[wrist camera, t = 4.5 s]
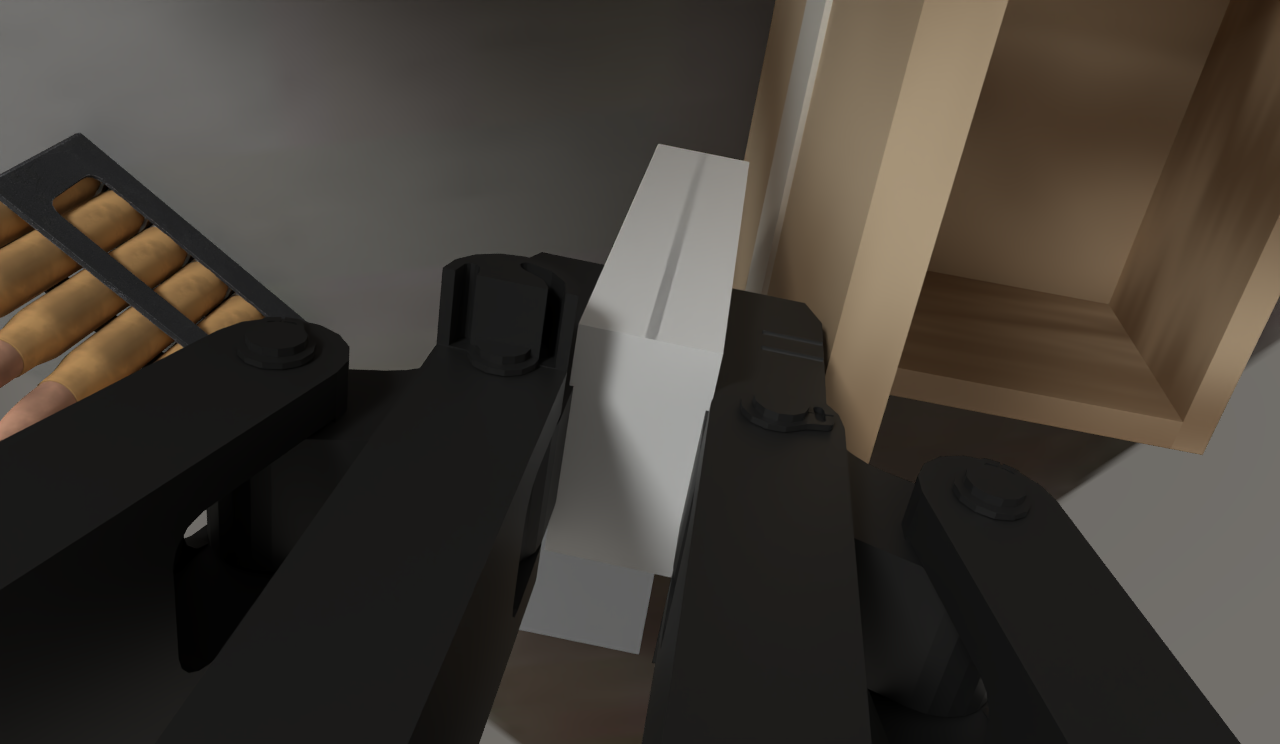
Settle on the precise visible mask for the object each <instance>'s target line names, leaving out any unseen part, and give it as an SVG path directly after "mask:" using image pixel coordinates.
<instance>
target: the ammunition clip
mask: <svg viewBox="0 0 1280 744" xmlns="http://www.w3.org/2000/svg"><path fill="white" fill-rule="evenodd" d="M115 247H116V249H114V248H115ZM112 249H114V250H113V251H111V252H110V253H107V252H109V251H110V250H112ZM81 268H84V269H83V270H82V271H80V272H79V273H77V274H76V275H74V276H73V277H71V278H68V276H70V275H72V274H73V273H75V272H77V271H78V270H80V269H81ZM158 284H160V285H159V286H158V287H156V288H155V289H154V290H152V289H153V288H154V287H155V286H157V285H158ZM43 292H45V293H46V294H45V295H43V296H42V297H40V298H39V299H37V300H36V301H34V302H32V303H31V304H29V305H28V306H26V307H25V308H23V309H22V310H21V311H19V312H18V313H17V314H16V315H15V316H13V318H12V319H11V320H10V321H9V322H8V323H7V324H6V325H5V326H4V327H3V329H1V330H0V388H1V387H3V386H4V385H5V384H7V383H8V382H10V381H11V380H13V379H14V378H17V377H19V376H21V375H22V374H24V373H26V372H27V371H29V370H30V369H32V368H33V367H35V366H37V365H39V364H42V363H45V362H47V361H50V360H52V359H54V358H56V357H58V356H60V355H61V354H62V353H64V352H65V351H67V350H68V349H69V348H71V347H72V346H74V345H75V344H76V343H78V342H79V341H80V340H82V339H83V338H85V337H86V336H87V335H89V334H90V333H92V332H93V331H95V332H96V333H95V334H94V335H92V336H91V337H90V338H88V339H87V340H86V341H84V342H83V343H82V344H80V345H79V346H78V347H76V348H75V349H74V350H72V351H71V352H70V353H69V354H68V355H67V356H65V358H64V359H63V360H62V361H61V362H60V364H59V365H58V366H57V368H56V369H55V370H54V372H52V373H51V374H50V375H49V376H48V377H46V378H45V379H44V380H43V381H42V382H41V383H39V384H38V386H37V387H36V388H35V389H34V390H32V391H31V392H30V393H28V394H27V395H26V396H25V397H24V398H22V399H21V400H20V401H19V402H18V403H17V404H16V405H15V406H14V407H13V408H12V409H11V410H10V411H9V412H8V413H7V414H6V415H5V416H4V417H3V418H2V420H1V421H0V441H1V440H3V439H5V438H7V437H9V436H11V435H13V434H15V433H17V432H19V431H21V430H23V429H25V428H27V427H29V426H31V425H33V424H35V423H37V422H39V421H41V420H43V419H44V418H46V417H48V416H50V415H52V414H54V413H56V412H58V411H60V410H62V409H64V408H66V407H68V406H70V405H72V404H74V403H76V402H78V401H80V400H82V399H84V398H86V397H88V396H90V395H92V394H94V393H95V392H97V391H99V390H101V389H103V388H105V387H107V386H109V385H111V384H113V383H115V382H117V381H119V380H121V379H123V378H125V377H127V376H129V375H131V374H133V373H135V372H137V371H139V370H140V369H141V368H142V369H143V368H145V367H146V366H148V365H150V364H152V363H154V362H156V361H158V360H160V359H162V358H164V357H166V356H168V355H170V354H172V353H174V352H176V351H178V350H180V349H182V348H184V347H186V346H188V345H190V344H192V343H194V342H196V341H198V340H199V339H201V338H203V337H205V336H207V335H209V334H211V333H213V332H215V331H217V330H219V329H222V328H225V327H228V326H231V325H234V324H236V323H239V322H243V321H251V320H259V319H263V318H265V317H282V319H285V317H288V318H296V319H300V320H302V321H304V322H306V321H305V320H304V319H303V318H302V317H300V316H299V315H298V314H297V313H296V312H294V311H293V310H292V309H291V308H290V307H288V306H287V305H286V304H285V303H284V302H282V301H281V300H280V299H279V298H278V297H276V296H275V295H274V294H273V293H272V292H270V291H269V290H268V289H267V288H266V287H264V286H263V285H262V284H261V283H260V282H258V281H257V280H256V279H255V278H254V277H252V276H251V275H250V274H249V273H248V272H246V271H245V270H244V269H243V268H242V267H240V266H239V265H238V264H237V263H236V262H234V261H233V260H232V259H231V258H230V257H228V256H227V255H226V254H225V253H224V252H223V251H221V250H220V249H219V248H218V247H217V246H215V245H214V244H213V243H212V242H211V241H209V240H208V239H207V238H206V237H205V236H203V235H202V234H201V233H200V232H199V231H197V230H196V229H195V228H194V227H193V226H191V225H190V224H189V223H188V222H187V221H185V220H184V219H183V218H182V217H181V216H179V215H178V214H177V213H176V212H175V211H173V210H172V209H171V208H170V207H169V206H167V205H166V204H165V203H164V202H163V201H161V200H160V199H159V198H158V197H157V196H155V195H154V194H153V193H152V192H151V191H149V190H148V189H147V188H146V187H145V186H143V185H142V184H141V183H140V182H139V181H137V180H136V179H135V178H134V177H133V176H131V175H130V174H129V173H128V172H127V171H126V170H124V169H123V168H122V167H121V166H120V165H118V164H117V163H116V162H115V161H114V160H112V159H111V158H110V157H109V156H108V155H106V154H105V153H104V152H103V151H102V150H100V149H99V148H98V147H97V146H96V145H94V144H93V143H92V142H91V141H90V140H88V139H87V138H86V137H85V136H84V135H82V134H81V133H78V134H74V135H72V136H71V137H69V138H67V139H65V140H63V141H61V142H59V143H58V144H56V145H54V146H52V147H50V148H48V149H46V150H45V151H43V152H41V153H39V154H37V155H35V156H33V157H32V158H30V159H28V160H26V161H24V162H22V163H20V164H18V165H17V166H15V167H13V168H11V169H9V170H7V171H5V172H4V173H2V174H0V318H1V317H3V316H5V315H7V314H9V313H11V312H12V311H14V310H15V309H17V308H19V307H20V306H22V305H23V304H25V303H27V302H28V301H30V300H31V299H33V298H35V297H36V296H38V295H40V294H41V293H43ZM129 305H131V307H130V308H128V309H127V310H126V311H124V312H123V313H122V314H120V315H119V316H118V317H117V316H116V315H117V314H118V313H119V312H121V311H122V310H124V309H125V308H126V307H128V306H129ZM202 318H203V320H202V321H201V322H200V323H199V324H197V325H196V323H197V322H198V321H199V320H200V319H202ZM174 341H176V342H177V343H175V344H174V345H173V346H172V347H171V348H170V349H168V350H167V351H166V352H165V353H163V352H162V351H163V350H164V349H165V348H167V347H168V346H169V345H170V344H171V343H173V342H174Z"/></svg>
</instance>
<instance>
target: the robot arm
mask: <svg viewBox="0 0 1280 744" xmlns="http://www.w3.org/2000/svg"><path fill="white" fill-rule="evenodd" d="M748 168H749V162H747V161H742V160H737V159H732V158H727V157H722V156H717V155H712V154H708V153H703V152H698V151H692V150H687V149H682V148H677V147H672V146H667V145H662V144H658V145H657V148H656V150H655V152H654V154H653V157H652V159H651V161H650V163H649V166H648V168H647V170H646V173H645V175H644V177H643V179H642V182H641V184H640V186H639V188H638V191H637V193H636V195H635V197H634V200H633V202H632V204H631V206H630V209H629V211H628V213H627V216H626V218H625V220H624V222H623V225H622V227H621V229H620V231H619V234H618V236H617V238H616V240H615V243H614V245H613V247H612V249H611V252H610V254H609V256H608V259H607V261H606V263H605V265H602V264H597V263H592V262H587V261H582V260H577V259H572V258H567V257H562V256H558V255H553V254H548V253H543V252H542V253H539V254H537V255H535V256H533V257H530V258H528V257H523V256H515V255H507V254H476V255H472V256H467V257H463V258H459V259H455V260H454V261H452V262H451V263H449V264H448V265H446V266H445V267H443V272H442V284H441V297H440V309H439V322H438V334H437V345H436V346H435V347H434V349H433V350H432V352H431V353H430V354H429V356H428V357H427V359H426V360H425V362H424V363H423V364H422V366H421V367H420V368H418V369H412V370H396V371H380V370H352V369H349V346H348V345H347V343H346V342H345V341H344V340H343V339H342V337H341V336H340V335H339V334H337V333H335V332H333V331H331V330H329V329H327V328H325V327H323V326H321V325H317V324H313V323H308V322H304V321H302V320H300V319H296V318H288V317H285V319H282V317H265V318H263V319H259V320H251V321H243V322H239V323H236V324H234V325H231V326H228V327H225V328H222V329H219V330H217V331H215V332H213V333H211V334H209V335H207V336H205V337H203V338H201V339H199V340H198V341H196V342H194V343H192V344H190V345H188V346H186V347H184V348H182V349H180V350H178V351H176V352H174V353H172V354H170V355H168V356H166V357H164V358H162V359H160V360H158V361H156V362H154V363H152V364H150V365H148V366H146V367H145V368H143V369H141V370H139V371H137V372H135V373H133V374H131V375H129V376H127V377H125V378H123V379H121V380H119V381H117V382H115V383H113V384H111V385H109V386H107V387H105V388H103V389H101V390H99V391H97V392H95V393H94V394H92V395H90V396H88V397H86V398H84V399H82V400H80V401H78V402H76V403H74V404H72V405H70V406H68V407H66V408H64V409H62V410H60V411H58V412H56V413H54V414H52V415H50V416H48V417H46V418H44V419H43V420H41V421H39V422H37V423H35V424H33V425H31V426H29V427H27V428H25V429H23V430H21V431H19V432H17V433H15V434H13V435H11V436H9V437H7V438H5V439H3V440H1V441H0V744H479V742H480V739H481V736H482V733H483V731H484V728H485V725H486V722H487V719H488V716H489V714H490V711H491V708H492V705H493V702H494V699H495V696H496V694H497V691H498V688H499V685H500V682H501V679H502V676H503V674H504V671H505V668H506V665H507V662H508V659H509V656H510V654H511V651H512V648H513V645H514V642H515V639H516V636H517V634H518V631H519V628H520V625H521V622H522V619H523V616H524V614H525V611H526V608H527V605H528V602H529V599H530V596H531V594H532V591H533V588H534V585H535V582H536V578H537V571H538V565H539V558H540V551H541V544H542V540H543V537H544V534H545V532H546V529H547V526H548V530H547V537H546V543H545V550H547V551H552V552H556V553H561V554H566V555H570V556H575V557H579V558H584V559H589V560H593V561H598V562H603V563H606V564H611V565H615V566H620V567H625V568H629V569H634V570H639V571H643V572H648V573H653V574H657V575H662V576H667V577H671V581H670V586H669V590H668V595H667V599H666V604H665V608H664V612H663V617H662V621H661V626H660V630H659V635H658V639H657V643H656V648H655V652H654V657H653V661H652V663H655V668H654V674H653V680H652V686H651V692H650V698H649V704H648V710H647V716H646V722H645V728H644V734H643V740H642V744H1240V742H1239V741H1238V739H1237V738H1236V737H1235V735H1234V734H1233V733H1232V732H1231V730H1230V729H1229V728H1228V726H1227V725H1226V724H1225V722H1224V721H1223V720H1222V718H1221V717H1220V716H1219V714H1218V713H1217V712H1216V710H1215V709H1214V708H1213V707H1212V705H1211V704H1210V703H1209V701H1208V700H1207V699H1206V697H1205V696H1204V695H1203V693H1202V692H1201V691H1200V689H1199V688H1198V687H1197V686H1196V684H1195V683H1194V681H1193V680H1192V679H1191V677H1190V676H1189V675H1188V673H1187V672H1186V671H1185V670H1184V668H1183V667H1182V666H1181V664H1180V663H1179V662H1178V661H1177V659H1176V658H1175V656H1174V655H1173V654H1172V652H1171V651H1170V650H1169V648H1168V647H1167V646H1166V645H1165V643H1164V642H1163V640H1162V639H1161V638H1160V637H1159V635H1158V634H1157V633H1156V631H1155V630H1154V629H1153V627H1152V626H1151V625H1150V623H1149V622H1148V621H1147V619H1146V618H1145V617H1144V615H1143V614H1142V613H1141V611H1140V610H1139V609H1138V608H1137V606H1136V605H1135V604H1134V602H1133V601H1132V600H1131V598H1130V597H1129V596H1128V594H1127V593H1126V592H1125V591H1124V589H1123V588H1122V586H1121V585H1120V584H1119V582H1118V581H1117V580H1116V578H1115V577H1114V576H1113V575H1112V573H1111V572H1110V571H1109V569H1108V568H1107V567H1106V566H1105V564H1104V563H1103V561H1102V560H1101V559H1100V557H1099V556H1098V555H1097V554H1096V552H1095V551H1094V550H1093V548H1092V547H1091V546H1090V544H1089V543H1088V542H1087V540H1086V539H1085V538H1084V536H1083V535H1082V534H1081V532H1080V531H1079V530H1078V529H1077V527H1076V526H1075V524H1074V523H1073V522H1072V520H1071V519H1070V518H1069V517H1068V515H1067V514H1066V513H1065V511H1064V510H1063V509H1062V507H1061V506H1060V505H1059V503H1058V502H1057V501H1056V500H1055V499H1054V498H1053V497H1052V496H1051V495H1050V494H1049V493H1048V492H1047V491H1046V490H1045V489H1044V488H1043V487H1042V486H1041V485H1039V484H1038V483H1036V482H1034V481H1033V480H1031V479H1029V478H1028V477H1026V476H1024V475H1023V474H1021V473H1020V472H1019V471H1018V470H1016V469H1014V468H1012V467H1010V466H1007V465H1005V464H1003V466H1002V465H1000V462H996V461H993V460H990V459H985V458H984V459H978V458H973V457H967V456H944V457H938V458H936V459H934V460H931V461H929V462H927V463H925V464H924V465H923V467H922V469H921V471H920V473H919V475H918V477H917V480H916V483H915V484H914V483H912V482H909V481H907V480H904V479H902V478H899V477H897V476H894V475H892V474H889V473H887V472H884V471H882V470H880V469H878V468H876V467H874V466H872V465H870V464H867V463H866V462H864V461H863V460H861V459H859V458H858V457H856V456H855V455H853V454H852V453H850V452H849V451H848V450H847V448H846V437H845V428H844V426H843V423H842V421H841V419H840V417H839V415H838V414H837V413H836V412H835V411H834V410H833V409H832V408H831V407H830V406H828V405H827V404H826V386H825V368H824V362H823V360H824V350H823V346H822V345H823V332H822V323H821V321H820V320H819V319H818V318H817V317H816V316H815V314H814V313H813V312H812V311H811V310H810V308H809V307H808V306H807V305H806V304H805V303H802V302H797V301H792V300H788V299H783V298H778V297H773V296H768V295H763V294H758V293H753V292H748V291H743V290H738V289H734V288H732V285H733V278H734V271H735V263H736V256H737V249H738V242H739V234H740V227H741V220H742V212H743V205H744V198H745V190H746V183H747V176H748ZM206 509H207V525H206V526H204V527H203V528H201V529H200V530H199V531H197V532H196V533H195V534H193V535H192V536H190V537H187V538H185V539H184V534H185V532H186V530H187V528H188V527H189V526H190V525H191V524H192V522H193V521H194V520H195V519H196V518H197V517H198V516H199V515H200V514H201V513H202V512H203V511H205V510H206ZM548 523H549V524H548Z"/></svg>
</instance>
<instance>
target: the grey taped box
mask: <svg viewBox="0 0 1280 744" xmlns="http://www.w3.org/2000/svg"><path fill="white" fill-rule="evenodd" d="M548 524H549V523H548ZM547 530H548V526H547V529H546V532H545V534H544V537H543V540H542V544H541V551H540V558H539V565H538V571H537V578H536V582H535V585H534V588H533V591H532V594H531V596H530V599H529V602H528V605H527V608H526V611H525V614H524V616H523V619H522V622H521V625H520V628H519V630H523V631H528V632H533V633H537V634H542V635H547V636H552V637H557V638H562V639H566V640H571V641H576V642H581V643H586V644H591V645H595V646H600V647H605V648H610V649H615V650H620V651H624V652H629V653H634V654H639V651H640V646H641V640H642V635H643V630H644V625H645V620H646V615H647V609H648V604H649V599H650V594H651V589H652V584H653V578H654V574H653V573H648V572H643V571H639V570H634V569H629V568H625V567H620V566H615V565H611V564H606V563H603V562H598V561H593V560H589V559H584V558H579V557H575V556H570V555H566V554H561V553H556V552H552V551H547V550H545V543H546V537H547Z"/></svg>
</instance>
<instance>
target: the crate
mask: <svg viewBox="0 0 1280 744" xmlns="http://www.w3.org/2000/svg"><path fill="white" fill-rule="evenodd" d="M1279 296H1280V0H1008V3H1007V6H1006V9H1005V13H1004V16H1003V19H1002V23H1001V26H1000V29H999V33H998V36H997V39H996V43H995V46H994V49H993V52H992V56H991V59H990V62H989V66H988V69H987V72H986V76H985V79H984V82H983V86H982V89H981V92H980V96H979V99H978V102H977V106H976V109H975V112H974V116H973V119H972V122H971V125H970V129H969V132H968V135H967V139H966V142H965V145H964V149H963V152H962V155H961V159H960V162H959V165H958V169H957V172H956V175H955V179H954V182H953V185H952V189H951V192H950V195H949V199H948V202H947V205H946V208H945V212H944V215H943V218H942V222H941V225H940V228H939V232H938V235H937V238H936V242H935V245H934V248H933V252H932V255H931V258H930V262H929V265H928V268H927V272H926V275H925V278H924V281H923V285H922V288H921V291H920V295H919V298H918V301H917V305H916V308H915V311H914V315H913V318H912V321H911V325H910V328H909V331H908V335H907V338H906V341H905V345H904V348H903V351H902V354H901V358H900V361H899V364H898V368H897V371H896V374H895V378H894V381H893V384H892V388H891V391H890V394H889V395H893V396H898V397H904V398H909V399H914V400H919V401H924V402H930V403H935V404H940V405H945V406H950V407H956V408H961V409H966V410H971V411H976V412H982V413H987V414H992V415H997V416H1002V417H1008V418H1013V419H1018V420H1023V421H1028V422H1034V423H1039V424H1044V425H1049V426H1055V427H1060V428H1065V429H1070V430H1075V431H1081V432H1086V433H1091V434H1096V435H1101V436H1107V437H1112V438H1117V439H1122V440H1127V441H1133V442H1138V443H1143V444H1148V445H1153V446H1159V447H1164V448H1169V449H1174V450H1179V451H1185V452H1190V453H1195V454H1200V455H1202V454H1203V453H1204V451H1205V449H1206V447H1207V445H1208V442H1209V440H1210V438H1211V436H1212V434H1213V432H1214V430H1215V428H1216V426H1217V424H1218V422H1219V420H1220V418H1221V416H1222V413H1223V412H1224V410H1225V408H1226V405H1227V403H1228V401H1229V399H1230V397H1231V395H1232V393H1233V391H1234V389H1235V387H1236V385H1237V383H1238V381H1239V379H1240V377H1241V374H1242V372H1243V370H1244V368H1245V366H1246V364H1247V362H1248V360H1249V358H1250V356H1251V354H1252V352H1253V350H1254V348H1255V346H1256V344H1257V341H1258V339H1259V337H1260V335H1261V333H1262V331H1263V329H1264V327H1265V325H1266V323H1267V321H1268V319H1269V317H1270V315H1271V313H1272V311H1273V308H1274V306H1275V304H1276V302H1277V300H1278V298H1279Z"/></svg>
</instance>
